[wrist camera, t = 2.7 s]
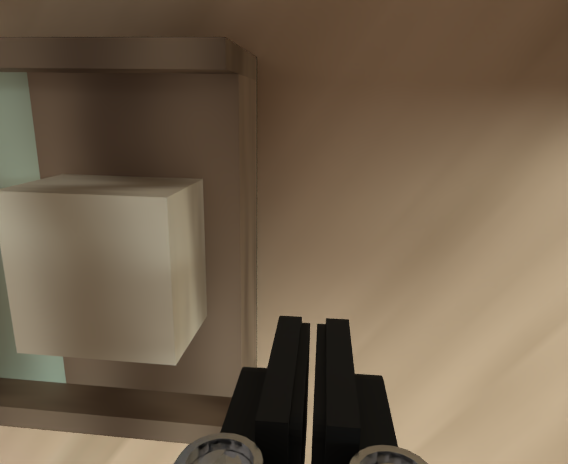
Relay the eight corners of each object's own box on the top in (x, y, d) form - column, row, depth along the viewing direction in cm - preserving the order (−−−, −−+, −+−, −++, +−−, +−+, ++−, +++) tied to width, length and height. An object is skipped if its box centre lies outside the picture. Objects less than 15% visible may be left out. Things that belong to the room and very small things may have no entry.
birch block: (202, 178, 18) (166, 197, 14) (207, 315, 20) (175, 365, 16) (62, 174, 19) (-9, 190, 15) (77, 307, 20) (17, 352, 17)
